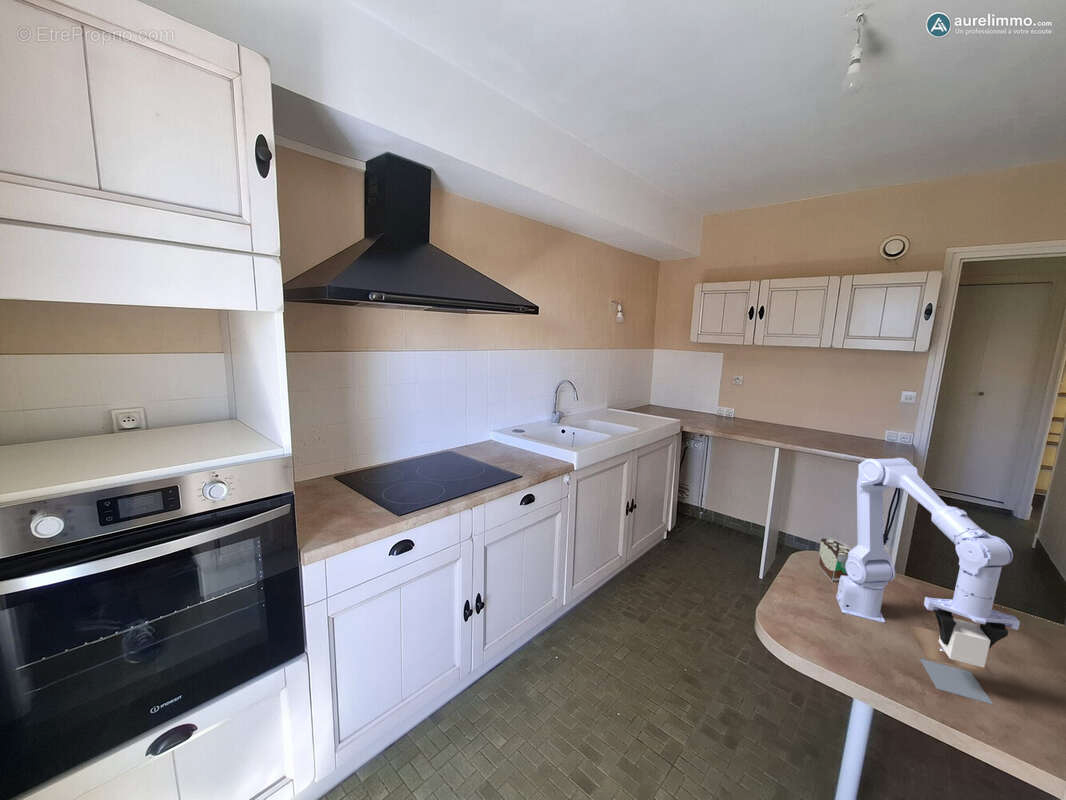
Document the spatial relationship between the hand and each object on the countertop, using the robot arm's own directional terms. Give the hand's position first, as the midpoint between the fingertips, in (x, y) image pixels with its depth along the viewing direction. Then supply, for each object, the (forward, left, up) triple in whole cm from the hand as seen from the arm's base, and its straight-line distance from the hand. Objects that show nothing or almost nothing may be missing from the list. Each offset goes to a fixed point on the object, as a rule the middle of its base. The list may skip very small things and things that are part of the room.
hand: (962, 646), depth 91 cm
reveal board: (+3, +12, -9) cm, 15 cm away
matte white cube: (0, 0, -2) cm, 2 cm away
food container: (-15, +37, -9) cm, 41 cm away
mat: (0, 0, -9) cm, 9 cm away
